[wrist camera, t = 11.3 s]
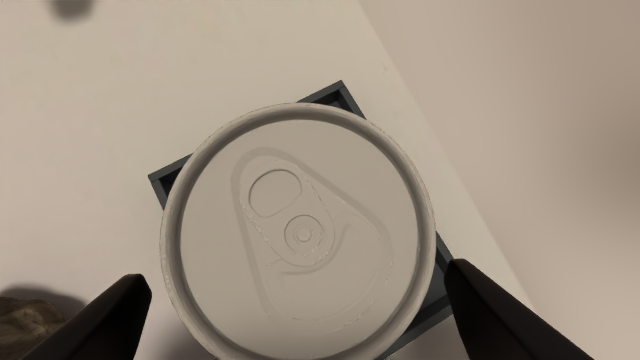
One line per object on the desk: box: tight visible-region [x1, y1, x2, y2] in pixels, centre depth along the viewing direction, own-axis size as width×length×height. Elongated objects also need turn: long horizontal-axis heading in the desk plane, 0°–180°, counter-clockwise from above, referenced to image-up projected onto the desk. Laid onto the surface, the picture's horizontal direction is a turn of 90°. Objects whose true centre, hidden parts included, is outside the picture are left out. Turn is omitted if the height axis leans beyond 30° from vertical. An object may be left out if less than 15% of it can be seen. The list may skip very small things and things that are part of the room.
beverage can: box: [160, 103, 436, 360], centre depth 12 cm, size 7×7×12 cm
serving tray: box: [148, 80, 454, 360], centre depth 17 cm, size 15×13×2 cm
